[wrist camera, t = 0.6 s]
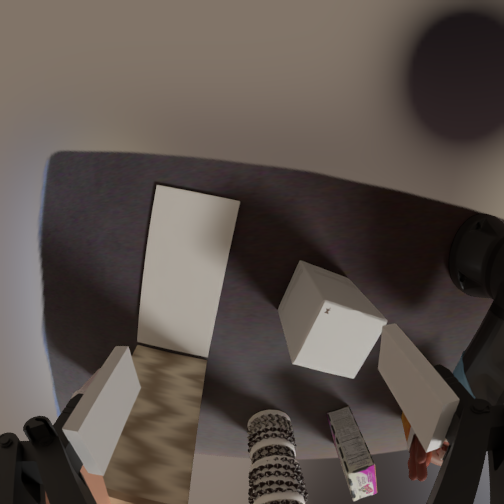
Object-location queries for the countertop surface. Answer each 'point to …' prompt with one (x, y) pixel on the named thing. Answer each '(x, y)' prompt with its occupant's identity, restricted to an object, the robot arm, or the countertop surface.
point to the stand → (158, 431)
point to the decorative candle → (274, 460)
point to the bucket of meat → (420, 453)
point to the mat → (184, 268)
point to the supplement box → (328, 321)
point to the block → (94, 487)
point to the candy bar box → (353, 453)
